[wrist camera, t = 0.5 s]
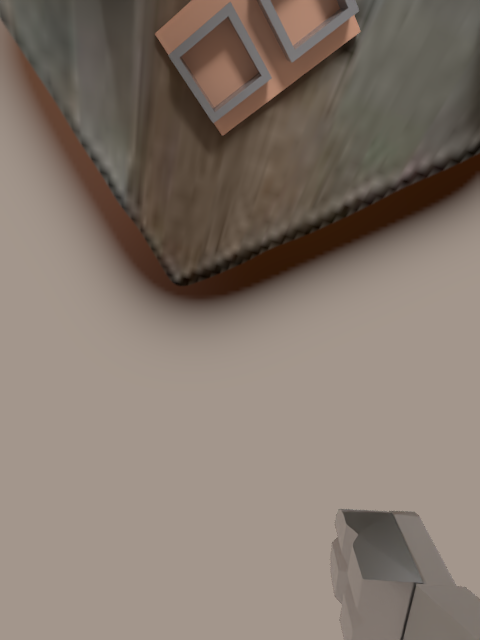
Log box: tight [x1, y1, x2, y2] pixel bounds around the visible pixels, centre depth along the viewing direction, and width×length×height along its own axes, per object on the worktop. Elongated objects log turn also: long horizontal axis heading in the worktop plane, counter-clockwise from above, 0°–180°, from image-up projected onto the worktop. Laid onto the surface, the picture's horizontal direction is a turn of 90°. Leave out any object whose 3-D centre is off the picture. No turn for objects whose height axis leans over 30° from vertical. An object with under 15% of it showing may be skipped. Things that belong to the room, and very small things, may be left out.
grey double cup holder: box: [155, 0, 361, 136], centre depth 42 cm, size 12×18×4 cm, turn 124°
